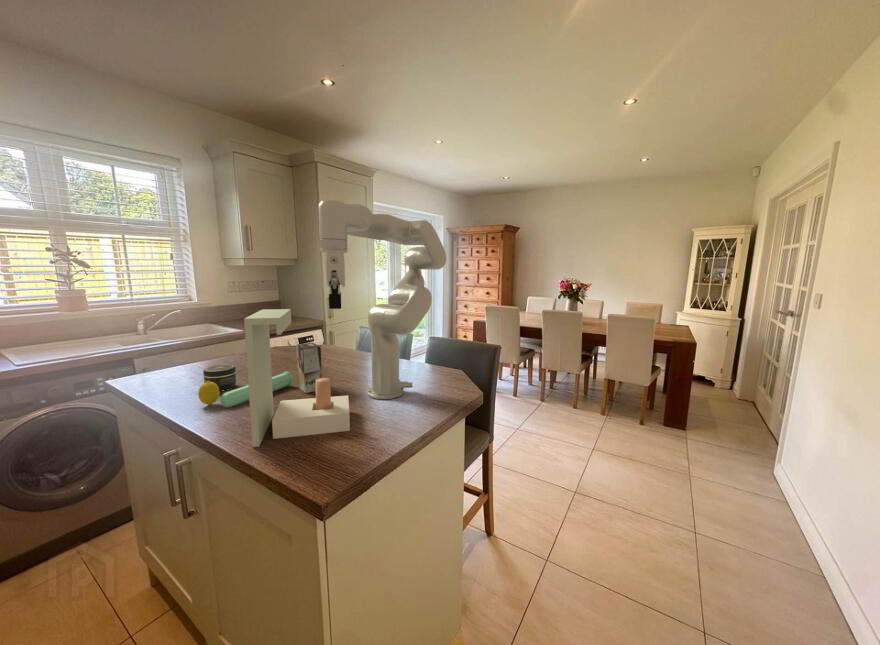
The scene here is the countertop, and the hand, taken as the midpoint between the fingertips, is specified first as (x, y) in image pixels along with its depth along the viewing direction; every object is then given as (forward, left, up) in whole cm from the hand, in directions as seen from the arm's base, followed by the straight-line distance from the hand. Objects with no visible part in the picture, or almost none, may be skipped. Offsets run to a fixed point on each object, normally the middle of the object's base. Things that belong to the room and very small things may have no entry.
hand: (335, 307), depth 102 cm
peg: (+4, +6, -32) cm, 33 cm away
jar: (+41, -34, -33) cm, 62 cm away
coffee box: (+10, -26, -32) cm, 43 cm away
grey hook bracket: (+16, +7, -32) cm, 37 cm away
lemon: (+39, -16, -32) cm, 53 cm away
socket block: (+6, +6, -32) cm, 33 cm away
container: (+26, -22, -33) cm, 48 cm away
